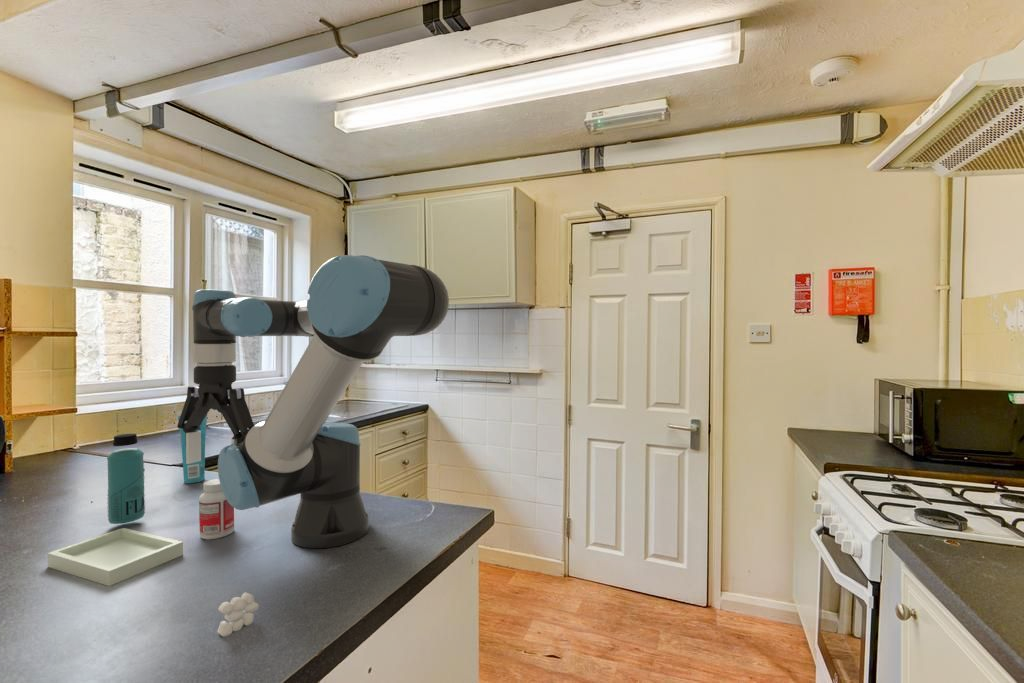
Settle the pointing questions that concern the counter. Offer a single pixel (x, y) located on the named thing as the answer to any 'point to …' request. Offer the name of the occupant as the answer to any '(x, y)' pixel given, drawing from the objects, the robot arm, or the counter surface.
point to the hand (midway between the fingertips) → (215, 465)
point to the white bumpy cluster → (237, 613)
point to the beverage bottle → (125, 481)
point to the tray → (115, 555)
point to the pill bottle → (215, 512)
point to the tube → (197, 469)
